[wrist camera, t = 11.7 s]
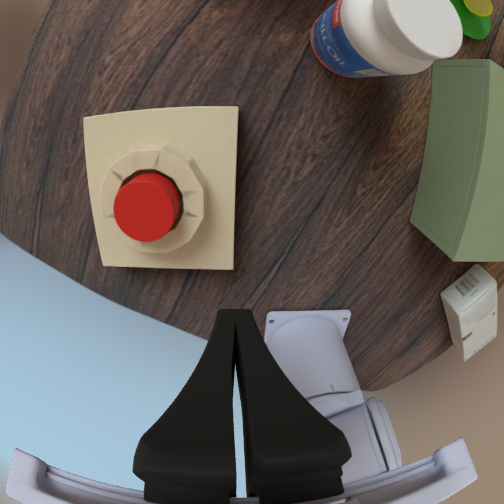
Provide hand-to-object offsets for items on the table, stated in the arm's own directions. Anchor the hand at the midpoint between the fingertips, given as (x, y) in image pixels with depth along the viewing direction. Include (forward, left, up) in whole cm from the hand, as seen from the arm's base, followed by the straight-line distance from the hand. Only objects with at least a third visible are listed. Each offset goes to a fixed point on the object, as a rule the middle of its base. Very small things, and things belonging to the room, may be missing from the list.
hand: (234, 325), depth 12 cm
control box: (+3, +5, -10) cm, 12 cm away
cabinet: (+8, -19, -10) cm, 23 cm away
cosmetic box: (-5, -24, -8) cm, 25 cm away
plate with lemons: (+23, -18, -11) cm, 31 cm away
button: (+3, +5, -7) cm, 9 cm away
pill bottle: (+14, -7, -11) cm, 19 cm away
